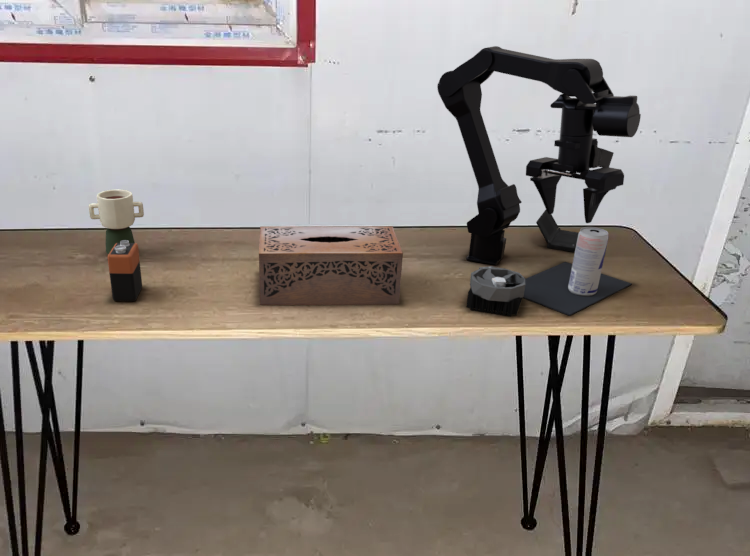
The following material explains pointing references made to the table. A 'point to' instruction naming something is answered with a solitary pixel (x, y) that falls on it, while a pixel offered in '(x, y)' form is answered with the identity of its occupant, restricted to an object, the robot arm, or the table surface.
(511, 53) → the robot arm
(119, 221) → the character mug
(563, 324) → the table surface
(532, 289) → the mouse pad
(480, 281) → the cpu cooler
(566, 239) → the handheld gaming console
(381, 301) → the tissue box cover
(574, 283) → the energy drink
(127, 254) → the battery
